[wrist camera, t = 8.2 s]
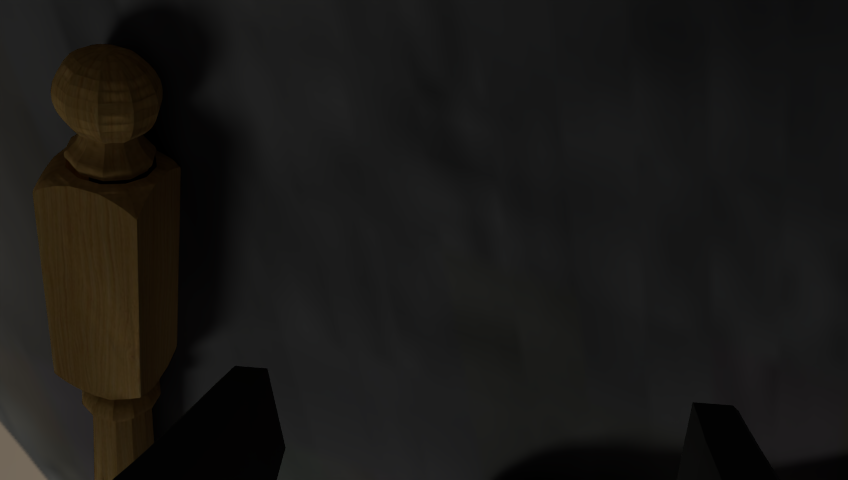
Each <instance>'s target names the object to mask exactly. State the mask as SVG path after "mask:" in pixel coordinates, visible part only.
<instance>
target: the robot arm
mask: <svg viewBox="0 0 848 480" xmlns="http://www.w3.org/2000/svg"><path fill="white" fill-rule="evenodd" d="M284 451H285V444H284V439H283V435H282V431H281V426H280V422H279V418H278V413H277V409H276V405H275V400H274V396H273V392H272V387H271V383H270V378H269V374H268V370H267V369H266V368H253V367H241V366H234V367H233V368H232V369H231V370H230V371H229V372H228V373H227V374H226V375H225V376H224V377H223V378H221V379H220V380H219V381H218V382H217V383H216V384H215V385H214V386H213V387H212V388H211V389H210V390H209V391H208V392H207V393H206V394H205V395H204V396H203V397H202V398H201V399H200V400H199V401H198V402H197V403H196V404H195V405H194V406H193V407H191V408H190V409H189V410H188V411H187V412H186V413H185V414H184V415H183V416H182V417H181V418H180V419H179V420H178V421H177V422H176V423H175V424H174V425H173V426H172V427H171V428H169V429H168V430H167V431H166V432H165V433H164V434H163V435H162V436H161V437H160V438H159V439H158V440H157V441H155V442H154V443H153V444H152V445H151V446H150V447H149V448H148V449H147V450H146V451H145V452H144V453H142V454H141V455H140V456H139V457H138V458H137V459H136V460H135V461H134V462H132V463H131V464H130V465H129V466H128V467H127V468H125V469H124V470H123V471H122V472H121V473H120V474H118V475H117V476H116V477H115V478H114V479H113V480H277V476H278V473H279V469H280V465H281V462H282V458H283V454H284ZM677 480H780V479H779V478H778V476H777V475H776V473H775V471H774V470H773V468H772V467H771V465H770V464H769V462H768V460H767V459H766V457H765V456H764V454H763V452H762V451H761V449H760V447H759V446H758V444H757V442H756V441H755V439H754V437H753V436H752V434H751V432H750V431H749V429H748V427H747V425H746V424H745V422H744V420H743V418H742V417H741V415H740V413H739V411H738V410H737V409H736V408H735V407H734V406H731V405H719V404H706V403H693V404H692V409H691V414H690V418H689V423H688V428H687V433H686V437H685V442H684V447H683V452H682V456H681V461H680V466H679V471H678V476H677Z"/></svg>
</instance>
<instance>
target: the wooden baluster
mask: <svg viewBox="0 0 848 480" xmlns="http://www.w3.org/2000/svg"><path fill="white" fill-rule="evenodd" d="M51 98H52V102H53V105H54V107H55V110H56V111H57V113H58V114H59V115H60V117H61V118H62V119H63V120H64V121H65V122H66V123H67V124H68V125H69V126H70V128H71V129H72V130H73V131H74V132H76V133H77V134H76V135H75V136H73V137H71V139H70V141H69V143H68V145H67V147H66V148H65V149H63V150H62V151H61V152H60V153H58V154H57V155H56V156H55V157H54V158H53V159H52V160H51V161H50V163H49V164H48V165H47V167H46V168H45V170H44V171H43V173H42V175H41V176H40V178H39V180H38V182H37V183H36V186H35V188H34V190H33V200H34V208H35V216H36V225H37V233H38V241H39V249H40V258H41V266H42V274H43V282H44V291H45V299H46V307H47V315H48V324H49V332H50V340H51V348H52V357H53V365H54V373H56V374H57V375H58V376H59V377H61V378H62V379H64V380H65V381H67V382H68V383H70V384H72V385H73V386H75V387H77V388H79V389H81V390H82V404H83V405H84V406H85V407H86V408H87V409H88V410H89V411H90V412H91V413H92V415H93V424H94V474H95V480H113V479H114V478H115V477H116V476H117V475H118V474H120V473H121V472H122V471H123V470H124V469H125V468H127V467H128V466H129V465H130V464H131V463H132V462H134V461H135V460H136V459H137V458H138V457H139V456H140V455H141V454H142V453H144V452H145V451H146V450H147V449H148V448H149V447H150V446H151V445H152V444H153V443H154V433H153V419H152V407H153V406H154V404H155V403H156V401H157V399H158V398H159V396H160V395H161V390H160V380H159V379H160V378H161V376H162V375H163V373H164V372H165V370H166V368H167V367H168V365H169V363H170V361H171V358H172V356H173V354H174V352H175V350H176V347H177V318H178V272H179V226H180V180H181V168H180V166H179V165H178V164H177V163H176V162H175V161H174V160H173V159H171V158H169V157H168V156H166V155H164V154H162V153H160V152H159V151H157V150H156V147H155V146H154V145H153V144H152V143H151V142H150V141H149V140H148V139H147V138H146V137H145V136H144V135H143V134H145V133H146V132H148V131H149V130H150V129H151V128H152V127H153V125H154V124H155V122H156V119H157V116H158V113H159V109H160V106H161V103H162V99H163V88H162V84H161V80H160V78H159V76H158V75H157V73H156V71H155V70H154V69H153V68H152V67H151V66H150V64H149V63H147V62H146V61H145V60H144V59H143V58H141V57H140V56H139V55H138V54H136V53H135V52H133V51H132V50H130V49H126V48H123V47H119V46H115V45H111V44H95V45H90V46H87V47H83V48H80V49H77V50H75V51H73V52H71V53H70V54H69V55H68V56H67V57H66V58H65V59H64V60H63V62H62V64H61V65H60V67H59V69H58V71H57V72H56V74H55V77H54V79H53V81H52V86H51ZM154 157H155V158H156V165H157V167H156V168H155V169H154V170H153V171H152V172H151V173H150V174H149V175H148V176H147V177H145V178H142V179H139V180H136V181H133V182H130V183H126V184H98V183H95V182H91V181H89V177H90V178H93V179H97V180H101V181H118V180H131V179H133V178H135V177H137V176H139V175H141V174H143V173H145V172H147V171H148V169H149V168H150V167H151V166H152V164H153V160H154Z"/></svg>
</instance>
